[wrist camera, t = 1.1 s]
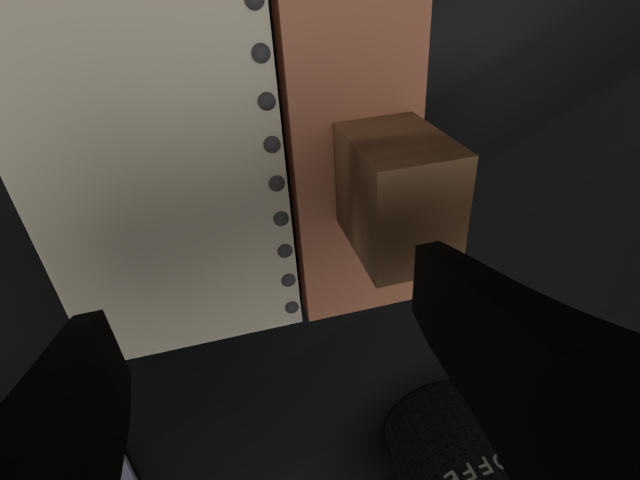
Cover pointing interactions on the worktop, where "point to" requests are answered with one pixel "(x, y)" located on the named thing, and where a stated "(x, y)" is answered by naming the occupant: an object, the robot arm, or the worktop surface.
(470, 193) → the stub
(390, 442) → the coffee cup
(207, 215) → the pad
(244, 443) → the worktop surface
